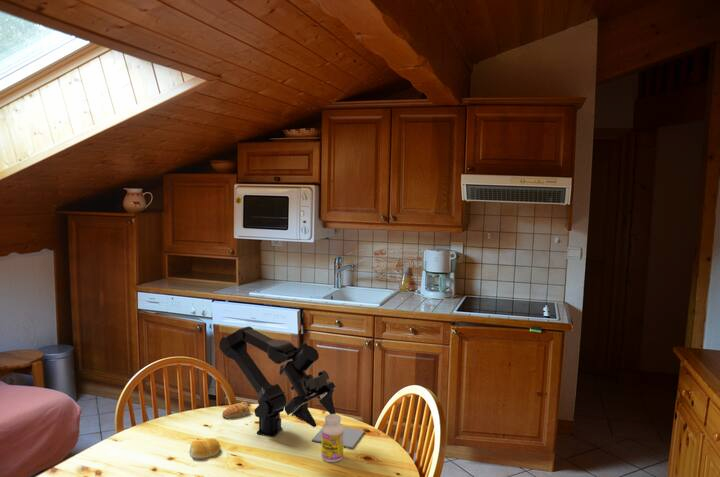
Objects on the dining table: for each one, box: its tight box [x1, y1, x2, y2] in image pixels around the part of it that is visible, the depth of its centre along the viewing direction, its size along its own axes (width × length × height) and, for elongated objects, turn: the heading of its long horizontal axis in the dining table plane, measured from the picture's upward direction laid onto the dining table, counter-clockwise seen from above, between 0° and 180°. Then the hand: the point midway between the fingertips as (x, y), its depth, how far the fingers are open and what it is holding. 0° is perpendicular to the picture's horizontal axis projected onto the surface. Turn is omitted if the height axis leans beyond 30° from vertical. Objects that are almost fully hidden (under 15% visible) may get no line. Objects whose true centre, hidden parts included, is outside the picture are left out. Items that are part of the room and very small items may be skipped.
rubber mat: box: [311, 426, 366, 450], centre depth 171 cm, size 14×12×1 cm
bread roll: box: [188, 438, 221, 460], centre depth 160 cm, size 8×9×4 cm
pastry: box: [221, 401, 251, 419], centre depth 186 cm, size 9×7×4 cm
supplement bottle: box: [320, 413, 345, 463], centre depth 157 cm, size 7×7×13 cm
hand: (325, 421), depth 159 cm, fingers open, 9 cm apart
